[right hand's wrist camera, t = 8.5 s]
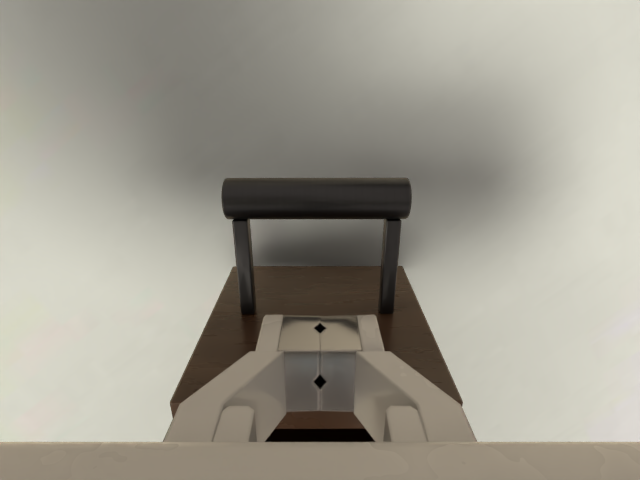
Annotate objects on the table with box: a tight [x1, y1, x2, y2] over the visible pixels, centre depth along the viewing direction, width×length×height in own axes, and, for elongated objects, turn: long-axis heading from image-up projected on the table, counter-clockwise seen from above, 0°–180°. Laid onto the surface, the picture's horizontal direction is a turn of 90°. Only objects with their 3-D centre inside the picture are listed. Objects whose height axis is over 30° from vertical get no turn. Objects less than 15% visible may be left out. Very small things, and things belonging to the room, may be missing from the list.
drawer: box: [170, 178, 463, 442], centre depth 19 cm, size 24×9×10 cm, turn 0°
